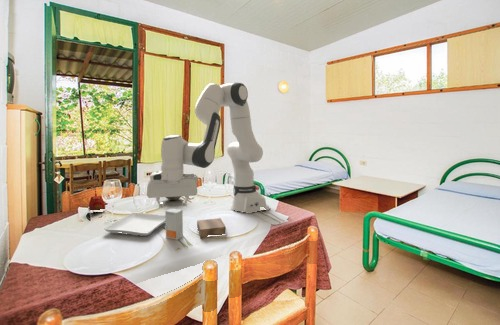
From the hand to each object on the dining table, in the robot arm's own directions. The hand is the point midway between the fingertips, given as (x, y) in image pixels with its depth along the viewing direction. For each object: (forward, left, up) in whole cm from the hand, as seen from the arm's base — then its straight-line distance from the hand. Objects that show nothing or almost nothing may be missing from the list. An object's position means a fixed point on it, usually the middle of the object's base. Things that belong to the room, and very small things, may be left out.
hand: (172, 206), depth 109 cm
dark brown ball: (-1, -57, -14) cm, 59 cm away
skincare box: (0, 0, -14) cm, 14 cm away
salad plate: (+15, -15, -14) cm, 25 cm away
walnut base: (-16, -1, -14) cm, 21 cm away
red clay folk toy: (+38, -45, -14) cm, 61 cm away
